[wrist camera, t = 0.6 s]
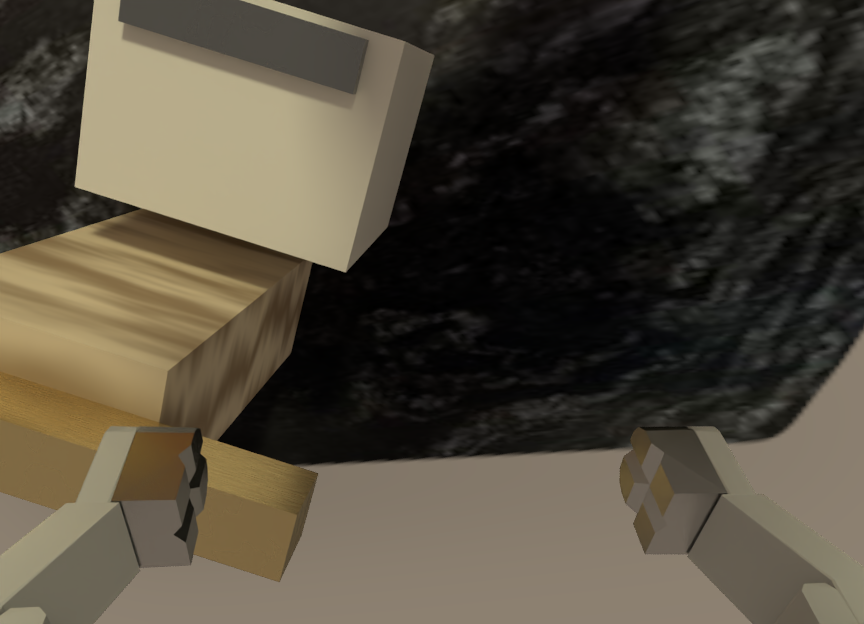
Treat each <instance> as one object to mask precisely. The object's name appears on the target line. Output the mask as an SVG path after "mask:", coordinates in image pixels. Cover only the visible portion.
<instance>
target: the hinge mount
mask: <svg viewBox="0 0 864 624" xmlns="http://www.w3.org/2000/svg"><path fill="white" fill-rule="evenodd" d="M433 59H434V55H432V54H430V53H428V52H426V51H424V50H421V49H419V48H417V47H415V46H413V45H411V44H409V43H407V42H405V41H401V40H398V39H395V38H392V37H389V36H385V35H382V34H379V33H376V32H372V31H369V30H366V29H363V28H360V27H356V26H353V25H350V24H347V23H344V22H340V21H337V20H334V19H331V18H328V17H324V16H321V15H318V14H315V13H311V12H308V11H305V10H302V9H299V8H295V7H292V6H289V5H286V4H283V3H279V2H276V1H273V0H94V8H93V18H92V27H91V37H90V46H89V56H88V66H87V75H86V85H85V94H84V104H83V113H82V123H81V133H80V142H79V152H78V161H77V171H76V181H75V187H77V188H80V189H83V190H87V191H90V192H93V193H96V194H99V195H102V196H106V197H109V198H112V199H115V200H118V201H121V202H125V203H128V204H131V205H134V206H137V207H140V208H143V209H147V210H150V211H153V212H156V213H159V214H162V215H166V216H169V217H172V218H175V219H178V220H181V221H185V222H188V223H191V224H194V225H197V226H200V227H204V228H207V229H210V230H213V231H216V232H219V233H223V234H226V235H229V236H232V237H235V238H238V239H241V240H245V241H248V242H251V243H254V244H257V245H260V246H264V247H267V248H270V249H273V250H276V251H279V252H283V253H286V254H289V255H292V256H295V257H298V258H302V259H305V260H308V261H311V262H314V263H317V264H320V265H324V266H327V267H330V268H333V269H336V270H339V271H343V272H347V271H348V269H349V268H350V267H351V266H352V265H353V264H354V263H355V262H356V261H357V260H358V259H359V257H360V256H361V255H362V254H363V253H364V252H365V251H366V250H367V249H368V248H369V247H370V245H371V244H372V243H373V242H374V241H375V240H376V239H377V238H378V237H379V236H380V234H381V233H382V232H383V231H384V230H385V229H386V228H387V227H388V224H389V220H390V216H391V213H392V209H393V205H394V202H395V198H396V194H397V191H398V187H399V183H400V180H401V176H402V172H403V169H404V165H405V161H406V158H407V154H408V150H409V147H410V143H411V139H412V136H413V132H414V129H415V125H416V121H417V118H418V114H419V110H420V107H421V103H422V99H423V96H424V92H425V88H426V85H427V81H428V77H429V74H430V70H431V66H432V63H433Z"/></svg>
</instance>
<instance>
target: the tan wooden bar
mask: <svg viewBox="0 0 864 624" xmlns="http://www.w3.org/2000/svg"><path fill="white" fill-rule="evenodd" d="M110 426H129V427H140V426H147V427H172V426H169V425H166V424H163V423H159V422H156V421H153V420H150V419H147V418H144V417H141V416H138V415H135V414H131V413H128V412H125V411H122V410H119V409H116V408H113V407H110V406H106V405H103V404H100V403H97V402H94V401H91V400H88V399H85V398H81V397H78V396H75V395H72V394H69V393H66V392H63V391H60V390H57V389H53V388H50V387H47V386H44V385H41V384H38V383H35V382H32V381H28V380H25V379H22V378H19V377H16V376H13V375H10V374H7V373H4V372H0V492H2V493H5V494H8V495H11V496H14V497H18V498H21V499H24V500H27V501H30V502H33V503H36V504H39V505H42V506H45V507H49V508H52V509H55V510H58V509H59V508H61V507H62V506H63V505H64V504H66V503H75V502H76V500H77V497H78V495H79V492H80V490H81V488H82V485H83V483H84V480H85V478H86V476H87V473H88V471H89V468H90V466H91V464H92V461H93V459H94V456H95V454H96V452H97V449H98V447H99V444H100V442H101V440H102V437H103V435H104V433H105V432H106V431H107V430H108V429H109V427H110ZM202 438H203V444H202V448H201V453H200V454H201V455H203V456H204V457H205V458H206V461H207V467H208V485H207V495H206V500H205V505H204V510H203V511H202V512H201V513H200V514H199V515H198V516H197V517H196V521H197V526H198V531H199V532H198V536H197V541H196V545H195V549H194V553H193V554H194V555H197V556H200V557H203V558H206V559H209V560H212V561H216V562H219V563H222V564H225V565H228V566H231V567H235V568H237V569H241V570H243V571H247V572H250V573H253V574H256V575H259V576H262V577H265V578H268V579H271V580H274V581H278V582H280V580H281V577H282V575H283V573H284V571H285V569H286V567H287V565H288V563H289V561H290V559H291V556H292V554H293V552H294V550H295V548H296V546H297V544H298V541H299V539H300V537H301V535H302V531H303V528H304V524H305V520H306V517H307V513H308V509H309V505H310V502H311V498H312V494H313V491H314V487H315V483H316V479H317V476H318V473H315V472H312V471H309V470H306V469H303V468H300V467H297V466H294V465H290V464H287V463H284V462H281V461H278V460H275V459H272V458H269V457H265V456H262V455H259V454H256V453H253V452H250V451H247V450H244V449H241V448H237V447H234V446H231V445H228V444H225V443H222V442H219V441H216V440H212V439H209V438H206V437H203V436H202Z"/></svg>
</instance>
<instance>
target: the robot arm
mask: <svg viewBox="0 0 864 624" xmlns="http://www.w3.org/2000/svg"><path fill="white" fill-rule="evenodd" d="M630 441H631V444H632V446H633V450H631V451H630V452H629V453H628V454H626V455H625V456H624V458H623V461H622V464H621V466H620V487H621V492H622V495H623V498H624V500H625V503H626V504H627V505H628V506H629V507H630V508H631V509H632V510H634V511H635V512H636V513H637V516H636V518H635V520H634V523H633V524H634V527H635V530H636V532H637V535H638V537H639V540H640V543H641V545H642V548H643V550H644V553H645V554H688V558H689V559H690V560H691V561H692V562H693V563H694V564H695V565H696V566H697V567H698V568H699V569H700V570H701V571H702V572H703V573H704V574H705V575H706V576H707V577H708V578H709V579H710V580H711V581H712V583H714V585H716V586H717V588H718V589H719V590H720V591H721V592H722V593H723V594H724V595H725V596H726V597H727V598H728V599H729V600H730V601H731V602H732V603H733V604H734V605H735V606H736V607H737V608H738V609H739V610H740V611H741V612H742V613H743V614H744V615H745V616H746V617H747V618H748V619H749V620H750V621H751V622H752V624H864V567H863V566H862V565H861V564H859V563H858V562H856V561H855V560H854V559H852V558H851V557H849V556H848V555H847V554H845V553H844V552H843V551H841V550H840V549H838V548H837V547H836V546H834V545H833V544H832V543H830V542H829V541H827V540H826V539H825V538H823V537H822V536H820V535H819V534H818V533H816V532H815V531H814V530H812V529H811V528H809V527H808V526H806V525H805V524H804V523H802V522H801V521H800V520H798V519H797V518H796V517H794V516H793V515H791V514H790V513H788V512H787V511H786V510H785V509H783V508H782V507H780V506H779V505H777V504H776V503H775V502H773V501H772V500H771V499H769V498H768V497H766V496H765V495H764V494H756V493H755V492H754V490H753V488H752V486H751V485H750V483H749V481H748V480H747V478H746V476H745V475H744V473H743V471H742V469H741V468H740V466H739V464H738V462H737V461H736V459H735V457H734V455H733V454H732V452H731V450H730V449H729V447H728V445H727V443H726V442H725V440H724V438H723V437H722V435H721V433H720V432H719V430H717V429H716V428H715V427H638V428H637V429H636V430H635V431H634V433H633V435H632V437H631V440H630ZM202 444H203V438H202V434H201V429H199V428H189V427H147V426H140V427H129V426H110V427H109V429H108V430H107V431H106V432H105V433H104V435H103V437H102V440H101V442H100V444H99V447H98V449H97V452H96V454H95V456H94V459H93V461H92V464H91V466H90V468H89V471H88V473H87V476H86V478H85V480H84V483H83V485H82V488H81V490H80V492H79V495H78V497H77V500H76V502H75V503H66V504H64V505H63V506H62V507H61V508H59V509H58V510H57V511H56V512H54V513H53V514H52V515H51V516H49V517H48V518H47V519H46V520H44V521H43V522H42V523H40V524H39V525H38V526H37V527H35V528H34V529H33V530H32V531H30V532H29V533H28V534H27V535H25V536H24V537H23V538H22V539H20V540H19V541H18V542H17V543H15V544H14V545H13V546H12V547H10V548H9V549H8V550H7V551H5V552H4V553H3V554H2V555H0V624H93V623H95V622H96V620H97V619H98V618H99V617H100V616H101V615H102V613H103V612H104V611H105V610H106V609H107V608H108V607H109V605H110V604H111V603H112V602H113V601H114V600H115V599H116V598H117V596H118V595H119V594H120V593H121V592H122V591H123V590H124V588H125V587H126V586H127V585H128V584H129V583H130V582H131V580H132V579H133V578H134V577H135V576H136V575H137V574H138V573H139V571H140V569H139V568H144V567H164V566H182V565H191V562H192V558H193V553H194V549H195V545H196V541H197V536H198V532H199V531H198V526H197V521H196V517H197V516H198V515H199V514H200V513H201V512H202V511H203V510H204V505H205V500H206V495H207V485H208V467H207V461H206V458H205V457H204V456H203V455H201V454H200V453H201V448H202Z"/></svg>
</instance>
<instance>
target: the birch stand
mask: <svg viewBox="0 0 864 624" xmlns="http://www.w3.org/2000/svg"><path fill="white" fill-rule="evenodd" d="M311 266H312V262H311V261H308V260H305V259H302V258H298V257H295V256H292V255H289V254H286V253H283V252H279V251H276V250H273V249H270V248H267V247H264V246H260V245H257V244H254V243H251V242H248V241H245V240H241V239H238V238H235V237H232V236H229V235H226V234H223V233H219V232H216V231H213V230H210V229H207V228H204V227H200V226H197V225H194V224H191V223H188V222H185V221H181V220H178V219H175V218H172V217H169V216H166V215H162V214H159V213H156V212H153V211H150V210H147V209H140V210H137V211H134V212H131V213H127V214H124V215H121V216H118V217H115V218H112V219H108V220H105V221H102V222H99V223H96V224H93V225H89V226H86V227H83V228H80V229H77V230H74V231H70V232H67V233H64V234H61V235H58V236H55V237H52V238H48V239H45V240H42V241H39V242H36V243H33V244H29V245H26V246H23V247H20V248H17V249H14V250H10V251H7V252H4V253H1V254H0V372H4V373H7V374H10V375H13V376H16V377H19V378H22V379H25V380H28V381H32V382H35V383H38V384H41V385H44V386H47V387H50V388H53V389H57V390H60V391H63V392H66V393H69V394H72V395H75V396H78V397H81V398H85V399H88V400H91V401H94V402H97V403H100V404H103V405H106V406H110V407H113V408H116V409H119V410H122V411H125V412H128V413H131V414H135V415H138V416H141V417H144V418H147V419H150V420H153V421H156V422H159V423H163V424H166V425H169V426H172V427H189V428H199V429H201V434H202V436H203V437H206V438H209V439H212V440H216V441H217V440H218V439H219V438H220V437H221V435H222V434H223V433H224V432H225V431H226V429H227V428H228V427H229V426H230V425H231V423H232V422H233V421H234V420H235V419H236V418H237V416H238V415H239V414H240V413H241V412H242V410H243V409H244V408H245V407H246V406H247V404H248V403H249V402H250V401H251V400H252V399H253V397H254V396H255V395H256V394H257V393H258V391H259V390H260V389H261V388H262V387H263V385H264V384H265V383H266V382H267V381H268V380H269V378H270V377H271V376H272V375H273V374H274V372H275V371H276V370H277V369H278V368H279V366H280V365H281V364H282V363H283V362H284V361H285V359H286V358H287V357H288V356H289V355H290V353H291V350H292V346H293V342H294V338H295V333H296V329H297V325H298V321H299V317H300V312H301V308H302V304H303V300H304V296H305V291H306V287H307V283H308V279H309V275H310V270H311Z"/></svg>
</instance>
